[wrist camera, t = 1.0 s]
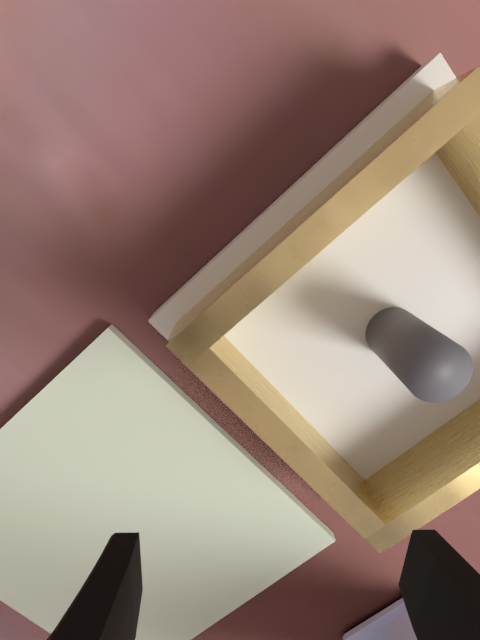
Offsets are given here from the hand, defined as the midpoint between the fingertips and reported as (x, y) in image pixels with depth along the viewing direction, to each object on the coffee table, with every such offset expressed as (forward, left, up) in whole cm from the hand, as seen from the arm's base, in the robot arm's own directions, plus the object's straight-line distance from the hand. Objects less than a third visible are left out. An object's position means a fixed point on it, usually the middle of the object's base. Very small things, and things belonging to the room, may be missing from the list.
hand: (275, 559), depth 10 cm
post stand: (-2, -7, -11) cm, 13 cm away
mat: (-2, +12, -11) cm, 16 cm away
